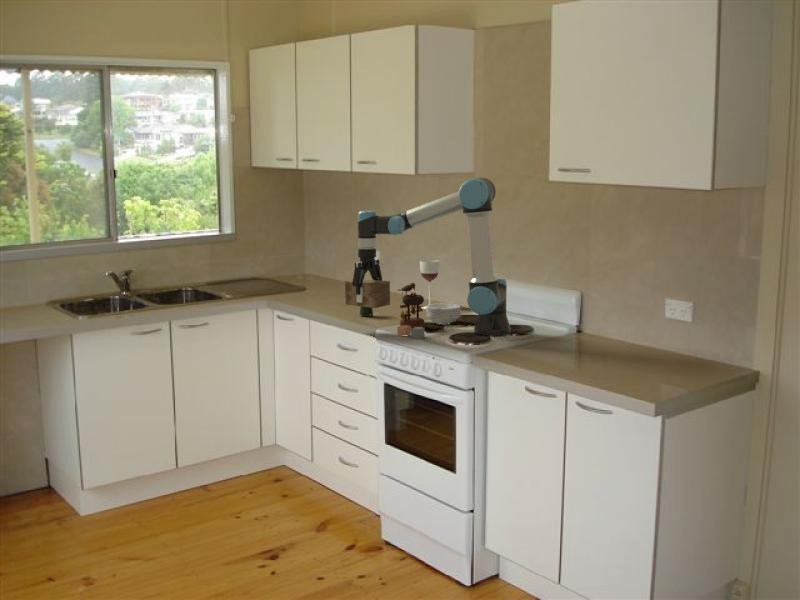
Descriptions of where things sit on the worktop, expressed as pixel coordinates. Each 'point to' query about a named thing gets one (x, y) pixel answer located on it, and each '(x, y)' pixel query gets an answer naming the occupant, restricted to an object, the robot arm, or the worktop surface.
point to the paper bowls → (443, 312)
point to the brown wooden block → (369, 293)
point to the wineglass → (429, 273)
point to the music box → (408, 301)
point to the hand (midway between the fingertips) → (367, 300)
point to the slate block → (418, 332)
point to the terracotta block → (404, 330)
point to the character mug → (366, 311)
